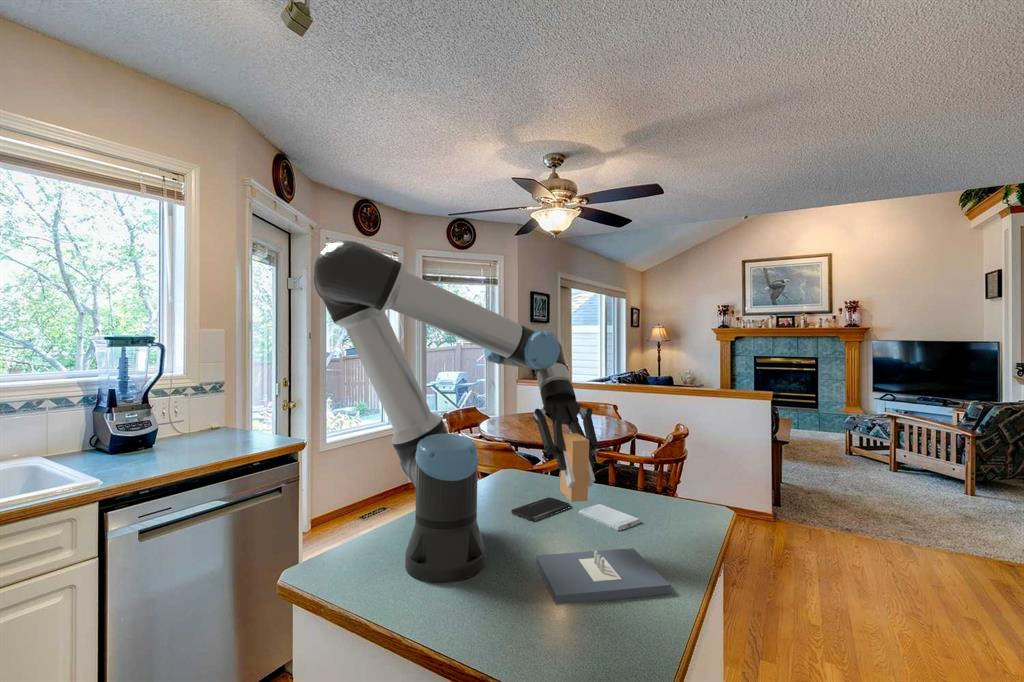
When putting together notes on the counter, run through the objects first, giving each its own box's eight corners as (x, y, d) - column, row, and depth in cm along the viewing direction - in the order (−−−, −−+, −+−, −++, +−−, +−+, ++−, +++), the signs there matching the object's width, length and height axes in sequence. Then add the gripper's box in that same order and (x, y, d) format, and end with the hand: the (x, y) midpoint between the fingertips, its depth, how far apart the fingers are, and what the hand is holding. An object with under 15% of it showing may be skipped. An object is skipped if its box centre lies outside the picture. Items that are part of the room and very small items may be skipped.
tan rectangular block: (571, 501, 88) (573, 440, 88) (560, 490, 95) (561, 433, 94) (587, 500, 89) (589, 440, 89) (575, 489, 95) (577, 432, 95)
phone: (572, 504, 117) (532, 519, 107) (572, 508, 117) (532, 523, 107) (549, 496, 123) (509, 510, 112) (549, 500, 123) (509, 514, 112)
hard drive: (578, 510, 112) (618, 526, 102) (600, 503, 117) (640, 517, 108) (578, 517, 112) (618, 533, 102) (600, 509, 117) (640, 524, 108)
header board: (556, 604, 73) (556, 579, 73) (535, 563, 87) (536, 541, 87) (670, 593, 77) (670, 569, 77) (633, 555, 91) (633, 535, 91)
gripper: (584, 397, 108) (613, 490, 93) (517, 398, 104) (536, 495, 89) (594, 377, 103) (627, 472, 87) (524, 377, 99) (545, 477, 83)
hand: (581, 483), depth 88 cm, fingers closed on tan rectangular block, 3 cm apart
